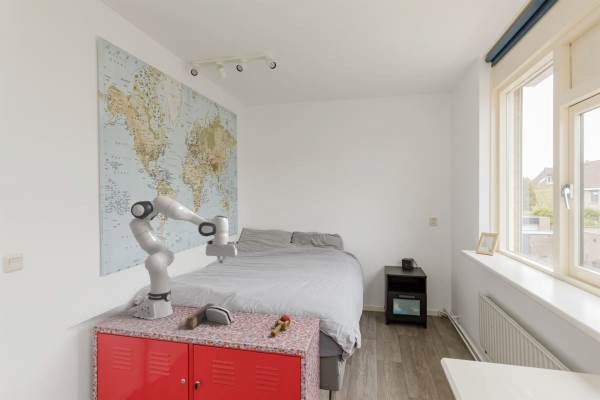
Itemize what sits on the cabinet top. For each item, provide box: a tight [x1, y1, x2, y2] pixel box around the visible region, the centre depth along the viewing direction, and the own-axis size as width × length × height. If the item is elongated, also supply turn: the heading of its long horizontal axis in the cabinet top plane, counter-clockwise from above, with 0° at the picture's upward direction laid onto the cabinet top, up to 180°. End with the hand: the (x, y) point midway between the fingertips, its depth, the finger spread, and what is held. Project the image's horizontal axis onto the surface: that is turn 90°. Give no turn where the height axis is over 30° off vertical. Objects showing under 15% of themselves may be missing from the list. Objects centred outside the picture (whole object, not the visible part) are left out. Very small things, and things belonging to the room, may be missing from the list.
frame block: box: [185, 303, 215, 330], centre depth 176 cm, size 4×24×6 cm, turn 168°
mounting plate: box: [196, 303, 213, 328], centre depth 176 cm, size 1×16×7 cm, turn 169°
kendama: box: [270, 314, 291, 338], centre depth 163 cm, size 8×6×18 cm
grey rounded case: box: [206, 305, 235, 325], centre depth 175 cm, size 17×5×10 cm, turn 64°
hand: (221, 263), depth 189 cm, fingers closed
